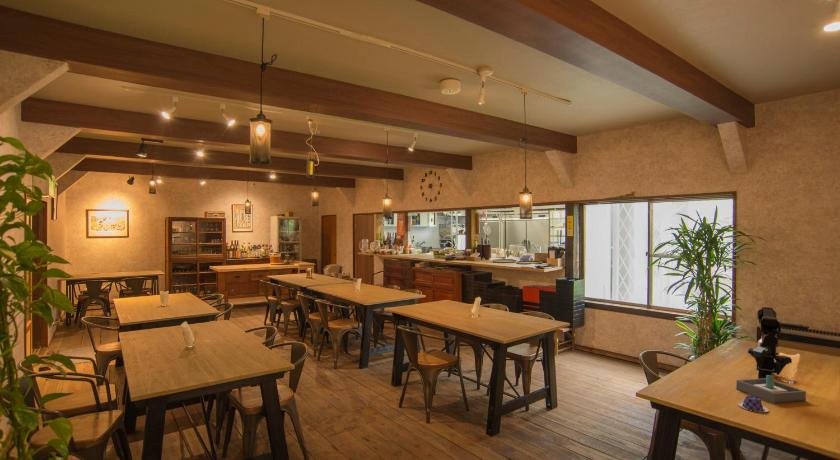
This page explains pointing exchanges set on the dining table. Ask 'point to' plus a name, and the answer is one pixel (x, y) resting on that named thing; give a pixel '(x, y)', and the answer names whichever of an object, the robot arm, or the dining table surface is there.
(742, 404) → the checkered hat
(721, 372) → the dining table surface
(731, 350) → the dining table surface
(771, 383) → the peg
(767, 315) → the robot arm
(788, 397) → the box
